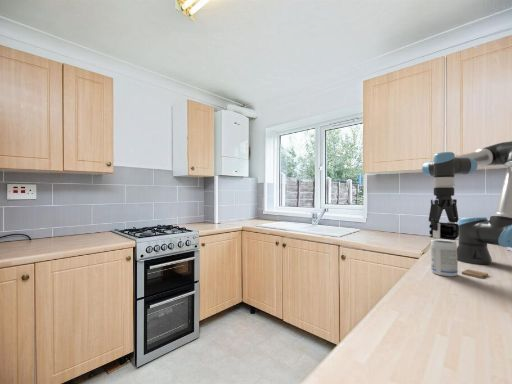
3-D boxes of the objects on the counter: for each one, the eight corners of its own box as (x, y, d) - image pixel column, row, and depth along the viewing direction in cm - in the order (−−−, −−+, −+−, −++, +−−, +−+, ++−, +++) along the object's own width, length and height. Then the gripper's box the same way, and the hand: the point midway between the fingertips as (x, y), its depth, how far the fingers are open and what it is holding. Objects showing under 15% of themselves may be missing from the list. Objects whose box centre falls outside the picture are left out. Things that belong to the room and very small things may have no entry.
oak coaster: (468, 271, 118) (468, 269, 118) (488, 275, 112) (488, 273, 112) (461, 273, 114) (461, 271, 114) (481, 278, 108) (481, 276, 108)
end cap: (459, 238, 114) (459, 223, 113) (455, 240, 109) (455, 224, 109) (432, 235, 121) (432, 221, 121) (428, 237, 116) (428, 222, 116)
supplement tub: (461, 274, 113) (461, 241, 113) (452, 278, 108) (452, 244, 108) (436, 269, 122) (436, 238, 121) (427, 272, 116) (427, 240, 116)
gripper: (451, 187, 122) (451, 234, 122) (418, 187, 114) (418, 237, 115) (468, 186, 115) (468, 236, 115) (435, 186, 107) (435, 240, 108)
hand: (443, 237), depth 115 cm, fingers closed on end cap, 9 cm apart
